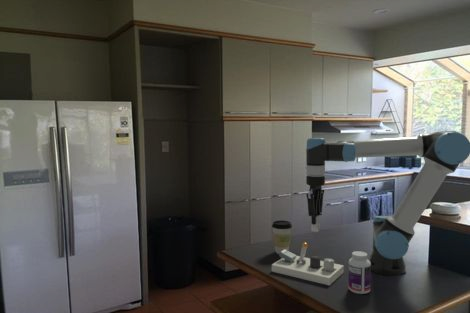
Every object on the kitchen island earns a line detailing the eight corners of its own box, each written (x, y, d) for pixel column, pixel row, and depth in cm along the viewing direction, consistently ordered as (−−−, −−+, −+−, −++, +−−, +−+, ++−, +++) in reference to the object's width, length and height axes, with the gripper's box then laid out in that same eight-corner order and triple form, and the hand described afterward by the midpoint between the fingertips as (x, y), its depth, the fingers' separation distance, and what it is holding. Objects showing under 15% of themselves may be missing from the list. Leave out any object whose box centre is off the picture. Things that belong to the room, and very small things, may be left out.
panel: (343, 272, 162) (343, 261, 162) (329, 285, 149) (329, 274, 149) (289, 260, 177) (288, 250, 177) (271, 271, 164) (271, 261, 164)
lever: (305, 263, 165) (309, 243, 168) (302, 262, 163) (307, 242, 166) (299, 262, 166) (303, 242, 169) (297, 260, 164) (301, 241, 167)
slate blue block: (295, 259, 169) (296, 254, 168) (290, 262, 165) (291, 257, 165) (283, 253, 172) (284, 248, 171) (278, 256, 168) (280, 251, 168)
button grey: (335, 269, 158) (335, 259, 158) (331, 272, 155) (331, 262, 154) (325, 267, 160) (325, 257, 160) (321, 270, 157) (322, 260, 157)
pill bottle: (365, 285, 149) (366, 249, 147) (374, 294, 141) (374, 257, 139) (345, 286, 148) (345, 250, 147) (352, 295, 140) (352, 257, 139)
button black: (321, 266, 161) (321, 257, 161) (317, 269, 158) (317, 259, 158) (312, 264, 164) (312, 255, 164) (308, 267, 160) (308, 258, 160)
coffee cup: (291, 256, 183) (291, 225, 181) (271, 255, 185) (270, 224, 183) (292, 249, 192) (292, 220, 191) (273, 248, 194) (272, 219, 193)
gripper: (314, 172, 165) (313, 226, 167) (299, 176, 154) (299, 233, 156) (330, 173, 161) (330, 228, 163) (317, 178, 150) (316, 236, 152)
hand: (315, 230), depth 160 cm, fingers closed
